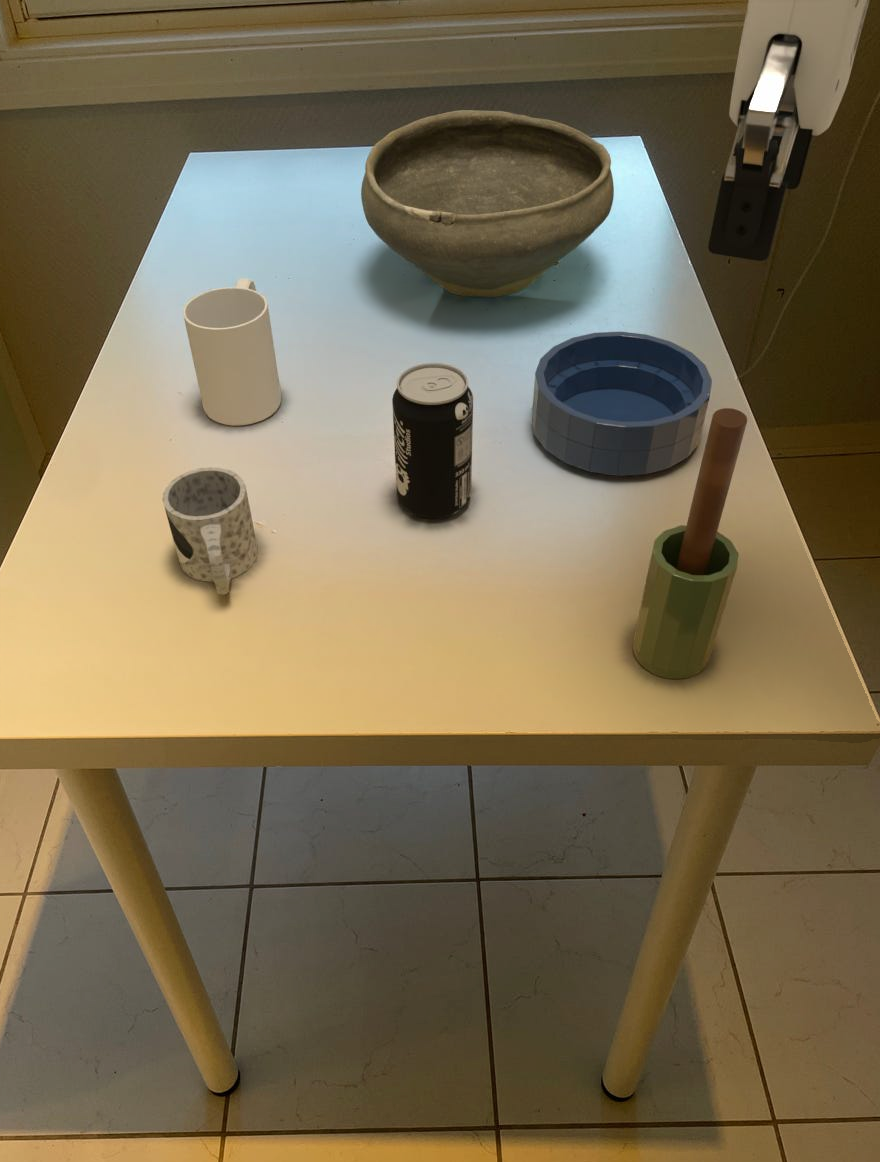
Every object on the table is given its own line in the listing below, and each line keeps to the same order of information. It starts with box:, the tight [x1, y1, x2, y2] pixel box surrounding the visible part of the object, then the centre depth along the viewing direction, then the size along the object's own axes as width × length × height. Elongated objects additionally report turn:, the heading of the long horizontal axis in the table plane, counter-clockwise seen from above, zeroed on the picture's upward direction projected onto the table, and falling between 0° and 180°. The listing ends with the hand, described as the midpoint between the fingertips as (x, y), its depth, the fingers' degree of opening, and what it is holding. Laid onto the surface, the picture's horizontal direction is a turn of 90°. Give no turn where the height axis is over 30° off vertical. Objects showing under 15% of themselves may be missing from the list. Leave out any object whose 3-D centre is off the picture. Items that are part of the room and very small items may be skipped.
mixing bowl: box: [531, 331, 713, 477], centre depth 89 cm, size 16×16×6 cm
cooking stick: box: [676, 407, 748, 575], centre depth 65 cm, size 2×2×20 cm
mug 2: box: [161, 466, 259, 595], centre depth 78 cm, size 10×7×7 cm, turn 13°
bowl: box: [360, 109, 615, 298], centre depth 108 cm, size 28×28×14 cm
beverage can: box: [391, 362, 474, 520], centre depth 81 cm, size 7×7×12 cm
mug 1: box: [182, 277, 282, 426], centre depth 94 cm, size 12×8×10 cm, turn 172°
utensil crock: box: [632, 525, 740, 680], centre depth 69 cm, size 6×6×10 cm
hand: (755, 217), depth 55 cm, fingers open, 9 cm apart
